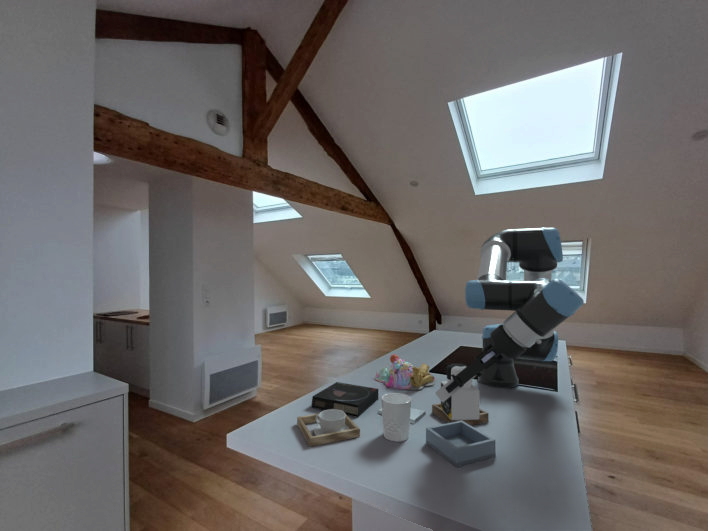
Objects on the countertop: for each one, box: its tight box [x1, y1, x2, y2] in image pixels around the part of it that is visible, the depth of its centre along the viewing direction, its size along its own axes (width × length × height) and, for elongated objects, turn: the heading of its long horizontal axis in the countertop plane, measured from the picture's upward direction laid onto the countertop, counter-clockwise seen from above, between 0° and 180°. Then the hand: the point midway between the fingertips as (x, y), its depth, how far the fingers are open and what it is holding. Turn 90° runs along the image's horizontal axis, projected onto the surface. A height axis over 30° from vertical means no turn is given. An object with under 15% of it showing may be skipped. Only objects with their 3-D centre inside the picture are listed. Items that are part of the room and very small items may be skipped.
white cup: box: [381, 392, 412, 443], centre depth 89 cm, size 8×8×10 cm
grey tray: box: [425, 420, 496, 468], centre depth 82 cm, size 12×12×4 cm
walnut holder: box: [431, 402, 489, 426], centre depth 101 cm, size 12×12×2 cm
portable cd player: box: [311, 381, 379, 418], centre depth 111 cm, size 16×17×4 cm
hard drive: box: [377, 407, 427, 425], centre depth 103 cm, size 2×8×12 cm
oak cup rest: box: [296, 410, 361, 447], centre depth 91 cm, size 14×14×2 cm
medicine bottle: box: [440, 363, 480, 420], centre depth 82 cm, size 7×7×12 cm
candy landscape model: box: [375, 353, 436, 391], centre depth 136 cm, size 25×24×9 cm
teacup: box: [313, 409, 350, 436], centre depth 91 cm, size 10×10×5 cm
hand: (447, 391), depth 84 cm, fingers closed on medicine bottle, 10 cm apart
